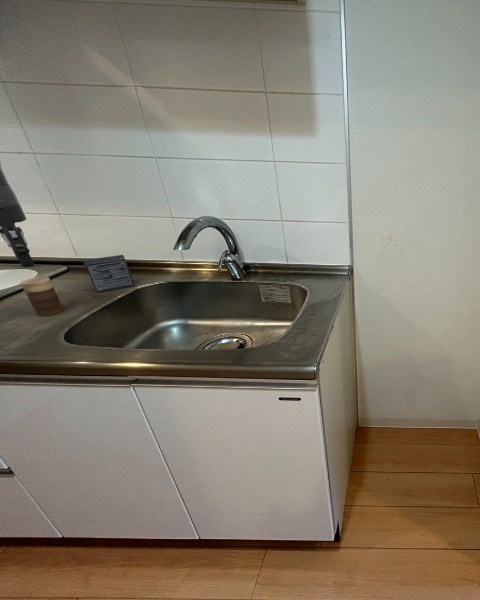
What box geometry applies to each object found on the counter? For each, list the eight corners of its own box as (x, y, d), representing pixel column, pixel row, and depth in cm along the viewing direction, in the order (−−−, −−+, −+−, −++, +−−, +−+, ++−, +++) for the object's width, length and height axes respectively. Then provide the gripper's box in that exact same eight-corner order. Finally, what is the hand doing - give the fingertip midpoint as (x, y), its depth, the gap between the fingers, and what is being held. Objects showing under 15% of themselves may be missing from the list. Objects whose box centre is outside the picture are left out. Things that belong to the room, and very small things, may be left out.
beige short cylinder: (18, 292, 86) (14, 284, 85) (36, 284, 91) (32, 276, 90) (41, 292, 87) (37, 284, 86) (58, 284, 92) (54, 276, 91)
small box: (132, 280, 116) (123, 253, 111) (135, 286, 112) (126, 258, 107) (94, 287, 109) (83, 259, 104) (96, 293, 105) (84, 264, 100)
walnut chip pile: (30, 316, 90) (17, 292, 86) (47, 307, 95) (36, 284, 91) (53, 316, 91) (42, 292, 87) (69, 307, 96) (59, 284, 92)
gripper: (-30, 200, 79) (1, 259, 87) (-25, 209, 72) (9, 273, 79) (14, 198, 85) (40, 253, 92) (23, 206, 78) (50, 266, 85)
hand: (26, 262), depth 86 cm, fingers open, 8 cm apart
